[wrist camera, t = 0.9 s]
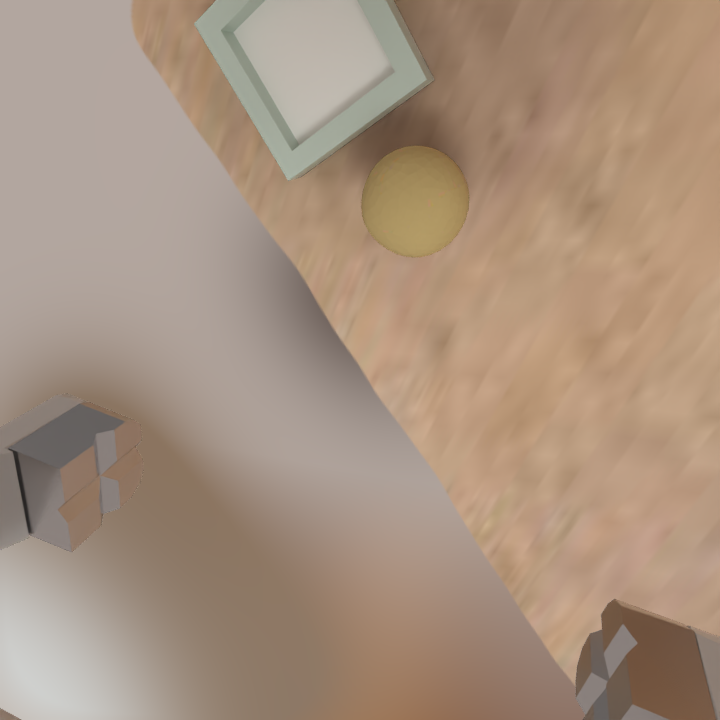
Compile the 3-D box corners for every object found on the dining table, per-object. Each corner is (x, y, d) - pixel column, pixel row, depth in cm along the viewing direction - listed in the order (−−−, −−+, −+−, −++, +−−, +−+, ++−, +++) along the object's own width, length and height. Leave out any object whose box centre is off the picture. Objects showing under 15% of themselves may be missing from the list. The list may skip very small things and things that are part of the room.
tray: (339, -105, 33) (325, -117, 31) (434, 80, 35) (426, 79, 33) (212, 27, 39) (194, 23, 37) (301, 176, 41) (288, 180, 39)
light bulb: (502, 164, 36) (480, 186, 28) (457, 246, 39) (425, 288, 31) (420, 120, 37) (373, 129, 28) (382, 205, 40) (331, 235, 32)
